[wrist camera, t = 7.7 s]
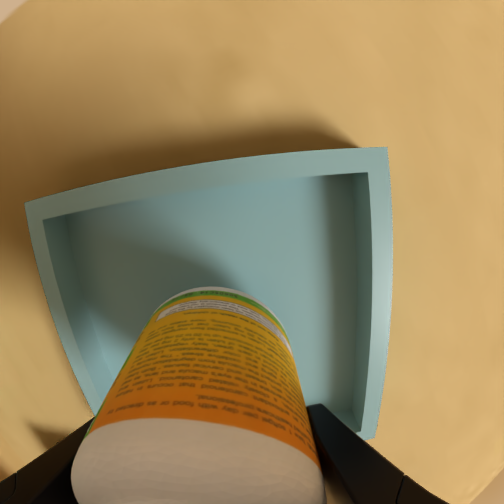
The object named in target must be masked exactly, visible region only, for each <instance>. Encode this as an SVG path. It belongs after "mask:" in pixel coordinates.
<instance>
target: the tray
mask: <svg viewBox="0 0 504 504" xmlns="http://www.w3.org/2000/svg"><path fill="white" fill-rule="evenodd" d="M24 205H25V211H26V217H27V223H28V228H29V233H30V238H31V242H32V247H33V251H34V255H35V259H36V264H37V267H38V271H39V275H40V279H41V282H42V286H43V289H44V293H45V296H46V299H47V302H48V305H49V309H50V312H51V315H52V318H53V320H54V323H55V326H56V329H57V332H58V334H59V337H60V340H61V342H62V345H63V347H64V350H65V353H66V355H67V357H68V360H69V362H70V365H71V367H72V369H73V372H74V374H75V376H76V378H77V381H78V383H79V385H80V387H81V389H82V391H83V393H84V395H85V397H86V400H87V402H88V404H89V406H90V407H91V409H92V411H93V413H94V415H95V416H96V414H97V412H98V410H99V409H100V407H101V405H102V403H103V401H104V399H105V397H106V395H107V393H108V391H109V390H110V388H111V386H112V384H113V382H114V381H115V379H116V377H117V375H118V373H119V371H120V369H121V368H122V366H123V364H124V362H125V361H126V359H127V357H128V355H129V353H130V352H131V350H132V348H133V346H134V345H135V343H136V341H137V339H138V337H139V336H140V334H141V332H142V330H143V328H144V327H145V325H146V323H147V322H148V320H149V319H150V317H151V316H152V314H153V313H154V312H155V310H156V309H157V308H158V307H159V306H160V305H161V304H163V303H164V302H165V301H166V300H168V299H169V298H171V297H173V296H175V295H177V294H179V293H181V292H184V291H186V290H189V289H193V288H198V287H210V286H211V287H224V288H230V289H234V290H238V291H241V292H244V293H246V294H248V295H251V296H253V297H254V298H256V299H258V300H259V301H261V302H262V303H263V304H265V305H266V306H267V307H268V308H269V309H270V310H271V311H272V312H273V313H274V314H275V315H276V317H277V318H278V319H279V321H280V322H281V324H282V325H283V327H284V329H285V331H286V334H287V337H288V339H289V343H290V346H291V350H292V353H293V357H294V361H295V365H296V369H297V373H298V377H299V381H300V385H301V389H302V393H303V397H304V401H305V405H306V407H307V406H308V405H312V404H318V403H321V404H323V405H324V406H325V407H326V408H328V409H329V410H330V411H331V412H332V413H333V414H334V415H335V416H337V417H338V418H339V419H340V420H341V421H342V422H343V423H344V424H346V425H347V426H348V427H349V428H350V429H351V430H353V431H354V432H355V433H356V434H357V435H358V436H360V437H361V438H362V439H363V440H368V439H372V438H375V433H376V428H377V423H378V417H379V412H380V406H381V399H382V393H383V386H384V379H385V371H386V363H387V354H388V344H389V332H390V319H391V302H392V276H393V227H392V201H391V184H390V171H389V160H388V150H387V147H369V148H345V149H327V150H313V151H300V152H289V153H278V154H268V155H259V156H250V157H242V158H234V159H227V160H219V161H212V162H206V163H199V164H193V165H187V166H181V167H175V168H169V169H163V170H158V171H153V172H147V173H142V174H137V175H132V176H128V177H123V178H118V179H114V180H109V181H105V182H100V183H96V184H92V185H88V186H84V187H79V188H76V189H72V190H68V191H64V192H60V193H56V194H53V195H49V196H46V197H42V198H38V199H35V200H32V201H28V202H25V203H24Z"/></svg>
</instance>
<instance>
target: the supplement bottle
mask: <svg viewBox="0 0 504 504" xmlns="http://www.w3.org/2000/svg"><path fill="white" fill-rule="evenodd" d="M71 483H72V488H73V492H74V495H75V497H76V499H77V502H78V503H79V504H327V496H326V489H325V484H324V478H323V473H322V469H321V465H320V460H319V456H318V452H317V448H316V445H315V441H314V437H313V433H312V429H311V425H310V421H309V417H308V413H307V410H306V405H305V401H304V397H303V393H302V389H301V385H300V381H299V377H298V373H297V369H296V365H295V361H294V357H293V353H292V350H291V346H290V343H289V339H288V337H287V334H286V331H285V329H284V327H283V325H282V324H281V322H280V321H279V319H278V318H277V317H276V315H275V314H274V313H273V312H272V311H271V310H270V309H269V308H268V307H267V306H266V305H265V304H263V303H262V302H261V301H259V300H258V299H256V298H254V297H253V296H251V295H248V294H246V293H244V292H241V291H238V290H234V289H230V288H224V287H211V286H210V287H198V288H193V289H189V290H186V291H184V292H181V293H179V294H177V295H175V296H173V297H171V298H169V299H168V300H166V301H165V302H164V303H163V304H161V305H160V306H159V307H158V308H157V309H156V310H155V312H154V313H153V314H152V316H151V317H150V319H149V320H148V322H147V323H146V325H145V327H144V328H143V330H142V332H141V334H140V336H139V337H138V339H137V341H136V343H135V345H134V346H133V348H132V350H131V352H130V353H129V355H128V357H127V359H126V361H125V362H124V364H123V366H122V368H121V369H120V371H119V373H118V375H117V377H116V379H115V381H114V382H113V384H112V386H111V388H110V390H109V391H108V393H107V395H106V397H105V399H104V401H103V403H102V405H101V407H100V409H99V410H98V412H97V414H96V416H95V418H94V420H93V422H92V423H91V425H90V427H89V429H88V431H87V433H86V435H85V437H84V439H83V441H82V443H81V445H80V447H79V449H78V452H77V454H76V456H75V459H74V461H73V465H72V470H71Z"/></svg>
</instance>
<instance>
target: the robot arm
mask: <svg viewBox="0 0 504 504" xmlns="http://www.w3.org/2000/svg"><path fill="white" fill-rule="evenodd" d="M306 410H307V413H308V417H309V421H310V425H311V429H312V433H313V437H314V441H315V445H316V448H317V452H318V456H319V460H320V465H321V469H322V473H323V478H324V484H325V489H326V496H327V504H449V503H447V502H446V501H444V500H442V499H440V498H439V497H437V496H435V495H433V494H432V493H430V492H429V491H427V490H426V489H425V488H423V487H422V486H420V485H419V484H418V483H416V482H415V481H414V480H412V479H411V478H410V477H409V476H407V475H404V473H403V472H402V471H401V470H399V469H398V468H397V467H396V466H395V465H393V464H392V463H391V462H390V461H388V460H387V459H386V458H385V457H383V456H382V455H381V454H380V453H379V452H377V451H376V450H375V449H374V448H373V447H371V446H370V445H369V444H368V443H367V442H365V441H364V440H363V439H362V438H361V437H360V436H358V435H357V434H356V433H355V432H354V431H353V430H351V429H350V428H349V427H348V426H347V425H346V424H344V423H343V422H342V421H341V420H340V419H339V418H338V417H337V416H335V415H334V414H333V413H332V412H331V411H330V410H329V409H328V408H326V407H325V406H324V405H323V404H321V403H318V404H312V405H308V406H307V407H306ZM94 418H95V417H93V418H92V419H91V420H89V421H88V422H87V423H85V424H84V425H82V426H81V427H80V428H78V429H77V430H76V431H74V432H73V433H71V434H70V435H69V436H67V437H66V438H64V439H63V440H62V441H60V442H59V443H57V444H56V445H54V446H53V447H52V448H50V449H49V450H47V451H46V452H44V453H43V454H42V455H40V456H39V457H37V458H36V459H34V460H33V461H31V462H30V463H29V464H27V465H26V466H24V467H23V468H21V469H20V470H18V471H17V473H14V474H12V475H11V476H9V477H8V478H6V479H5V480H3V481H1V482H0V504H79V503H78V502H77V499H76V497H75V495H74V492H73V488H72V483H71V470H72V465H73V461H74V459H75V456H76V454H77V452H78V449H79V447H80V445H81V443H82V441H83V439H84V437H85V435H86V433H87V431H88V429H89V427H90V425H91V423H92V422H93V420H94Z"/></svg>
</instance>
